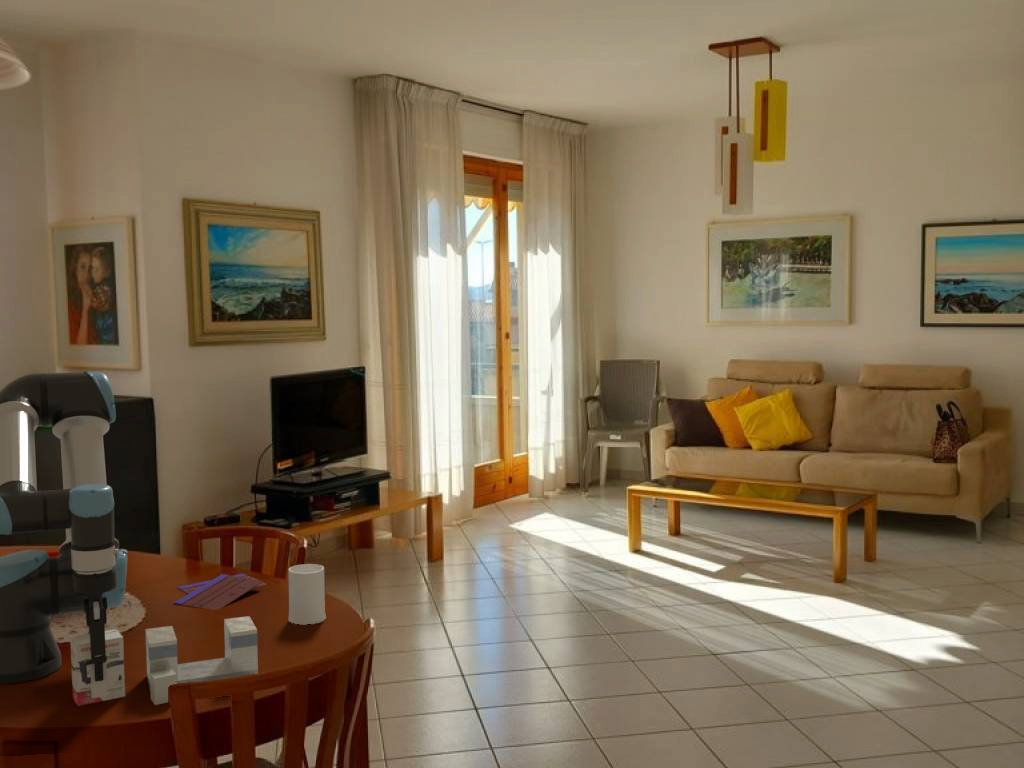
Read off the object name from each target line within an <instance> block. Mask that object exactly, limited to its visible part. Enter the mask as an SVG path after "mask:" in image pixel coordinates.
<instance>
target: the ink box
mask: <svg viewBox="0 0 1024 768" xmlns="http://www.w3.org/2000/svg"><path fill="white" fill-rule="evenodd" d="M69 642H70V661H71V662H70V664H71V665H70V666H71V682H72V699H73V701H74V703H75V704H76V706H77V707H81V706H86V705H90V704H95V703H96V704H97V703H100V702H105V701H111V700H115V699H119V698H124V697H126V684H125V679H126V678H125V659H124V658H125V655H124V636H123V634H122V633H121V632H120V631H119V630H117V629H109V630H105V649H106V657H107V660H106V665H107V692H108V696H104V697H98V698H92V696H91V670H90V665H87V661H90V659H91V647H90V634H88V633H87V634H86V633H85V634H80V635H75V636H73V637H70V641H69ZM100 656H102V655H100ZM95 657H97V656H95Z"/></svg>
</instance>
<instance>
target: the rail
mask: <svg viewBox="0 0 1024 768" xmlns="http://www.w3.org/2000/svg"><path fill="white" fill-rule="evenodd" d="M223 622H224V623H223V624H224V625H223V626H224V627H223V630H224V657H220V658H213V659H205V660H198V661H192V662H185V663H184V662H183V663H179V662H178V661H179V660H178V654H179V653H178V639H177V635H176V633H175V630H174V627H173V625H167V626H162V627H161V626H159V627H152V628H145V649H146V650H145V651H146V653H145V655H146V677H147V681H148V687H149V690H150V693H151V689H150V674H151V673H156V672H161V671H165V670H170V669H172V670H173V671H174V672H175V673H176V678H177V683H188V682H203V681H213V680H221V679H229V678H236V677H241V676H246V675H252V674H258V675H259V663H258V662H259V661H258V659H259V658H258V657H259V655H258V645H259V641H258V639H259V638H258V637H259V636H258V629H257V627H256V626H255V623H254V622H253V620H252V618H251V617H250V615H248V616H240V617H231V618H224V619H223ZM178 663H179V664H178Z"/></svg>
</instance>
